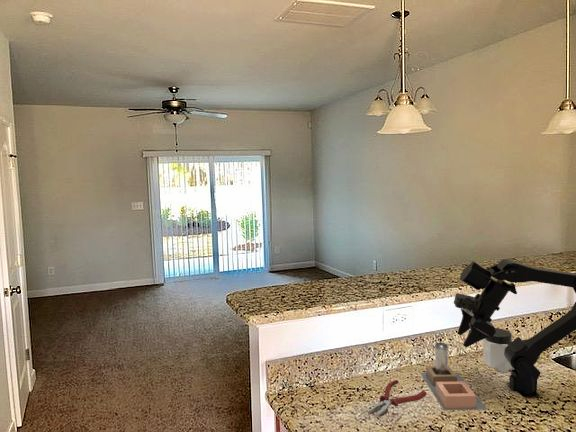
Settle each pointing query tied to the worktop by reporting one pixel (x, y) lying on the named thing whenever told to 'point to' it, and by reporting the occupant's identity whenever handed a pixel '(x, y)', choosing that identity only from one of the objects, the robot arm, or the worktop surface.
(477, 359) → the worktop surface
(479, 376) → the worktop surface
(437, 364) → the peg
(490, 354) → the jar
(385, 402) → the pliers
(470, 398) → the socket
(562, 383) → the worktop surface
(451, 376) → the dock plate
